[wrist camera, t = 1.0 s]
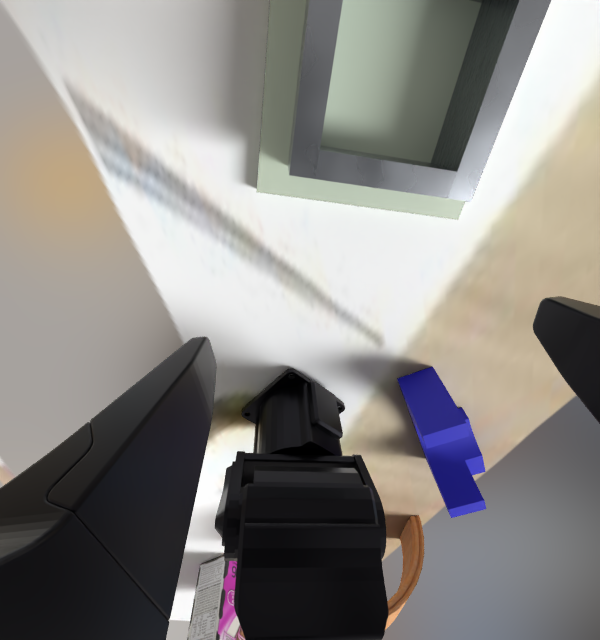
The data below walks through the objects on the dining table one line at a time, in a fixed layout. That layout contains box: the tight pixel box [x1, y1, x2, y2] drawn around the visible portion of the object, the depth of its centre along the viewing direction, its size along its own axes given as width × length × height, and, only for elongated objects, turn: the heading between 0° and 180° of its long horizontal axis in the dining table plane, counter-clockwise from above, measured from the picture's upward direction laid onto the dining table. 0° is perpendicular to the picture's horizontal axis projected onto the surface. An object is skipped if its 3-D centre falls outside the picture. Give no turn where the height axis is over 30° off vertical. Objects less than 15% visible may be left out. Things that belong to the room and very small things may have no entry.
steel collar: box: [288, 0, 551, 202], centre depth 15 cm, size 9×9×3 cm
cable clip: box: [397, 367, 486, 518], centre depth 28 cm, size 12×4×6 cm, turn 23°
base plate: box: [257, 0, 481, 220], centre depth 16 cm, size 12×12×1 cm
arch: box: [385, 515, 424, 630], centre depth 36 cm, size 6×20×10 cm, turn 84°
